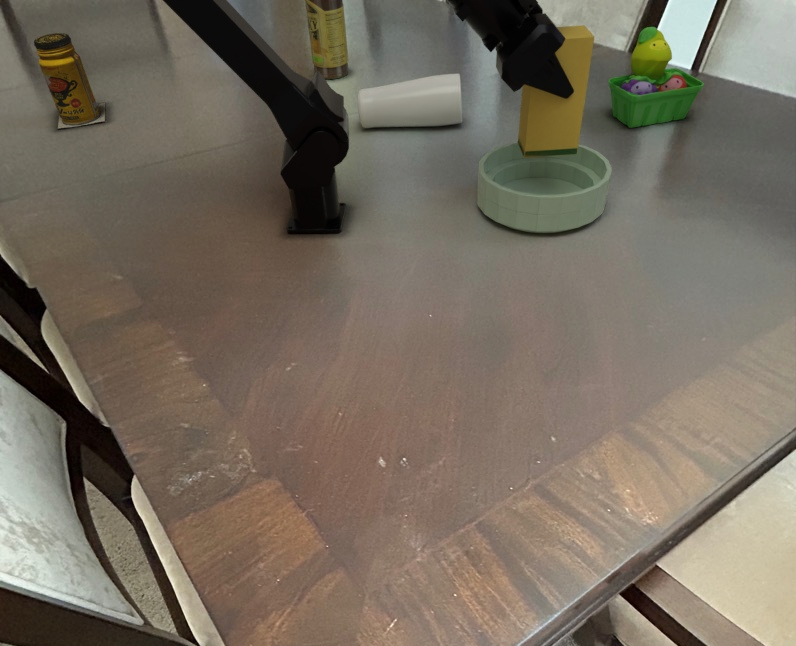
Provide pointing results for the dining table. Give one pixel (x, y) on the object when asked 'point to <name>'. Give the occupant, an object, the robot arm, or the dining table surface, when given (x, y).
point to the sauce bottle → (328, 37)
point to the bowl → (543, 188)
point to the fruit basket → (652, 85)
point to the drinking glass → (412, 103)
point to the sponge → (558, 102)
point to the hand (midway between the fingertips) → (565, 87)
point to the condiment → (67, 81)
